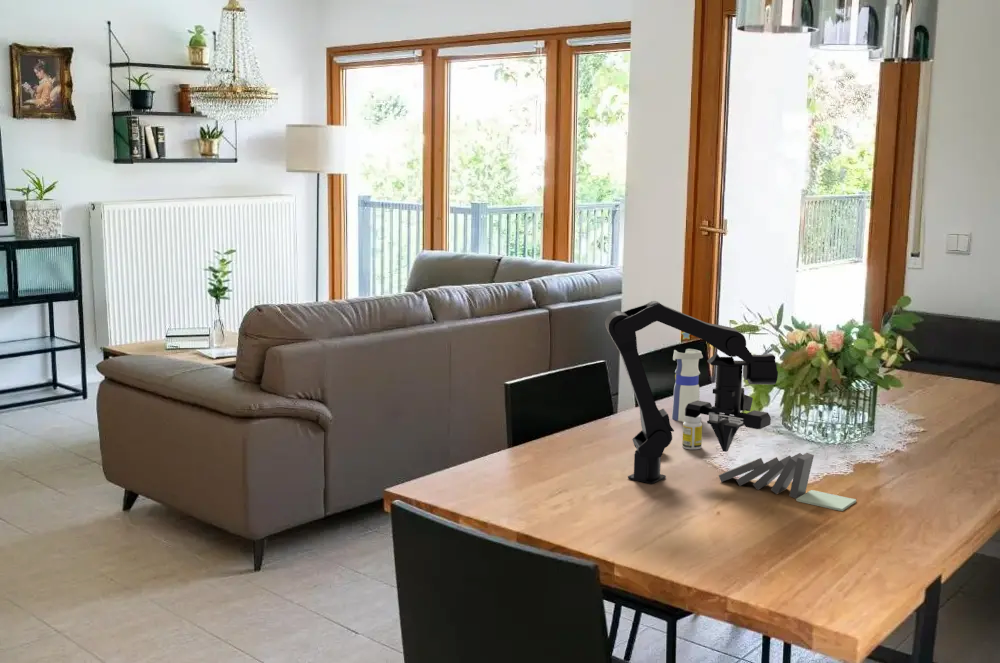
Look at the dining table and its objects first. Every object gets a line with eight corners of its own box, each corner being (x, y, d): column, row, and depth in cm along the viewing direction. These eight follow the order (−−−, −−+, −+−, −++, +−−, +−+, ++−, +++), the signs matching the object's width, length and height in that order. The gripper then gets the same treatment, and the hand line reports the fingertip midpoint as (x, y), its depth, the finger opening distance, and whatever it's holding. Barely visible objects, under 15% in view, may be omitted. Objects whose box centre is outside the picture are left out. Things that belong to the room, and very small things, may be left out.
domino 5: (805, 493, 228) (813, 455, 226) (796, 498, 224) (804, 460, 222) (798, 490, 229) (807, 452, 227) (789, 496, 225) (797, 457, 223)
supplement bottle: (700, 445, 265) (701, 413, 264) (702, 450, 261) (703, 417, 259) (681, 444, 266) (682, 412, 264) (682, 449, 261) (684, 417, 260)
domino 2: (749, 481, 236) (780, 463, 231) (739, 486, 232) (770, 468, 227) (746, 474, 237) (776, 457, 231) (736, 479, 233) (766, 462, 227)
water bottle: (663, 416, 294) (666, 329, 290) (688, 413, 298) (692, 327, 294) (680, 423, 287) (683, 334, 283) (705, 420, 290) (709, 332, 286)
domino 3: (767, 484, 234) (794, 461, 229) (757, 490, 230) (784, 466, 225) (762, 479, 234) (789, 455, 229) (752, 484, 230) (780, 460, 225)
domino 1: (731, 477, 239) (764, 464, 233) (721, 482, 235) (754, 469, 230) (728, 470, 239) (761, 457, 234) (718, 475, 235) (751, 462, 230)
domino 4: (786, 489, 231) (805, 457, 227) (776, 494, 227) (796, 462, 223) (780, 484, 232) (799, 452, 228) (770, 489, 228) (790, 457, 224)
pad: (842, 511, 216) (842, 509, 216) (796, 500, 223) (796, 498, 223) (856, 501, 223) (856, 499, 222) (811, 492, 229) (811, 489, 229)
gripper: (783, 384, 234) (779, 451, 237) (708, 372, 246) (705, 437, 248) (761, 392, 226) (757, 462, 228) (685, 380, 237) (682, 446, 240)
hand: (725, 451), depth 236 cm, fingers closed
